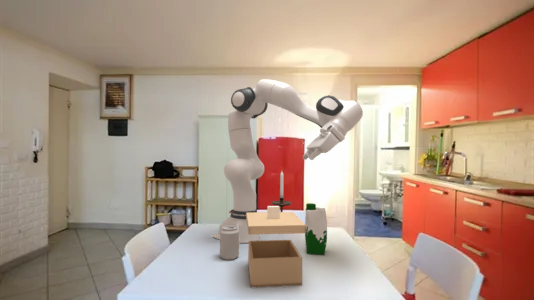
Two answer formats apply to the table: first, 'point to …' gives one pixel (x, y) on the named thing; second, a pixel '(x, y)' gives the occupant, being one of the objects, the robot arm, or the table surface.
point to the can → (229, 242)
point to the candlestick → (281, 195)
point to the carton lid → (274, 222)
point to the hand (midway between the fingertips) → (306, 158)
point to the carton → (274, 263)
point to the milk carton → (315, 230)
